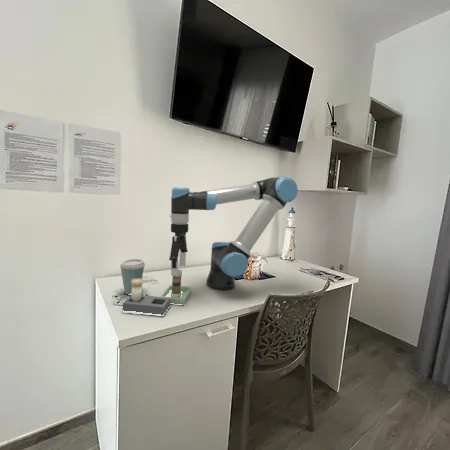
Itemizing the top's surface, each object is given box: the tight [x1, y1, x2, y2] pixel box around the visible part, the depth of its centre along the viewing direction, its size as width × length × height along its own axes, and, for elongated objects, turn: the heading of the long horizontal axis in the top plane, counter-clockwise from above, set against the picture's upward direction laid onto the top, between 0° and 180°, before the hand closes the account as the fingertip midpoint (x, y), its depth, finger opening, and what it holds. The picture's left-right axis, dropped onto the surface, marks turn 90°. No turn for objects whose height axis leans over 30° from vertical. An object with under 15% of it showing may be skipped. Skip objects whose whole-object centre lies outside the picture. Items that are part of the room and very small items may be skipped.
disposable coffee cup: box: [120, 258, 146, 294], centre depth 120 cm, size 11×11×15 cm
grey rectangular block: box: [122, 294, 171, 315], centre depth 104 cm, size 16×9×4 cm, turn 85°
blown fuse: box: [171, 269, 183, 298], centre depth 117 cm, size 4×4×12 cm
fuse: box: [131, 278, 144, 302], centre depth 104 cm, size 4×4×12 cm
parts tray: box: [159, 284, 192, 306], centre depth 118 cm, size 11×15×3 cm
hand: (178, 270), depth 117 cm, fingers open, 13 cm apart
